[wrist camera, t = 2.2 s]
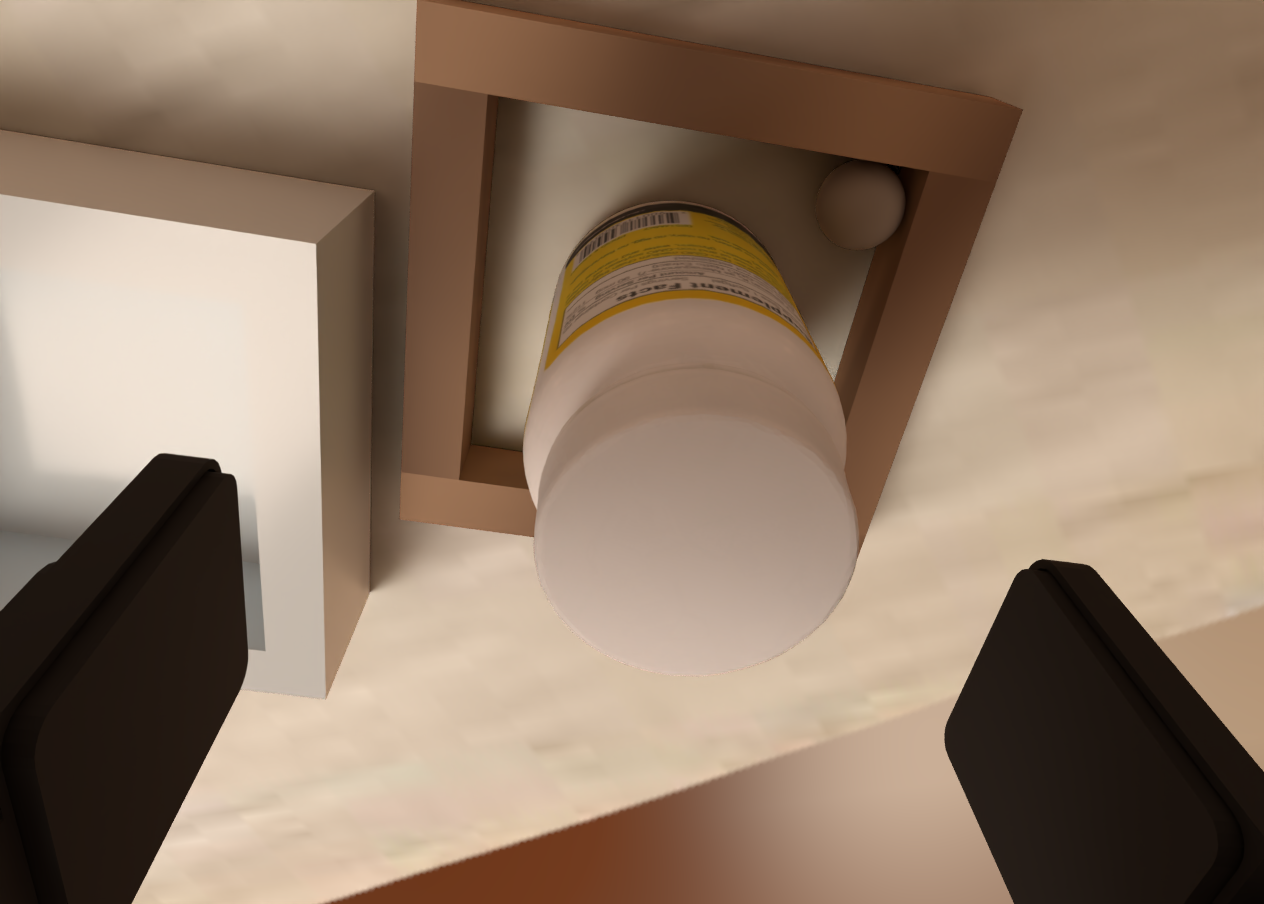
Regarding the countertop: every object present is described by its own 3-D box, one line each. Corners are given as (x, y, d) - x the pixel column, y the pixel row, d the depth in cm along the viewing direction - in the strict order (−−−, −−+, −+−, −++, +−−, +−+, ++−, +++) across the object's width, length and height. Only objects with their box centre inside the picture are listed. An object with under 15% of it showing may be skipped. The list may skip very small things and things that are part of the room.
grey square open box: (374, 190, 16) (315, 243, 13) (369, 594, 21) (326, 699, 18) (-182, 99, 16) (-378, 134, 13) (-53, 540, 20) (-172, 642, 17)
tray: (990, 96, 16) (1030, 112, 14) (835, 539, 20) (852, 587, 19) (436, -5, 15) (412, 0, 13) (414, 482, 20) (396, 527, 18)
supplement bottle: (712, 446, 19) (761, 745, 12) (518, 361, 18) (441, 631, 11) (829, 258, 17) (975, 485, 10) (615, 149, 16) (600, 311, 9)
